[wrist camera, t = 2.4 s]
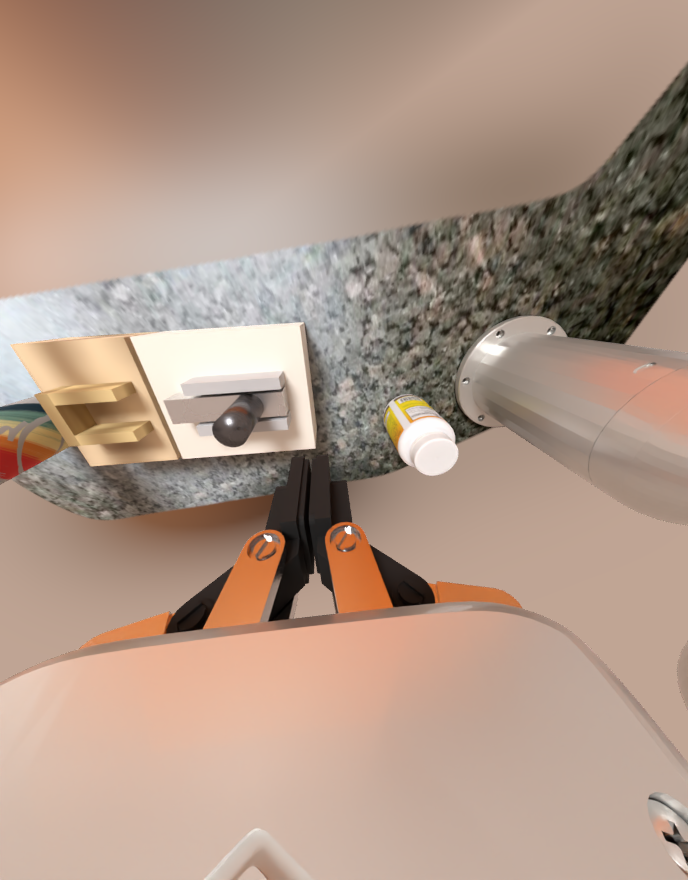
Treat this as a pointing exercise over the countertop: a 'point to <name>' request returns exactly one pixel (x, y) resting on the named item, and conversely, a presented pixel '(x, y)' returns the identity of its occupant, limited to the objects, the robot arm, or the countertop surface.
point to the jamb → (100, 398)
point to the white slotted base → (234, 381)
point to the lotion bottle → (26, 437)
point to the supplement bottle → (420, 435)
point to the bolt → (228, 411)
